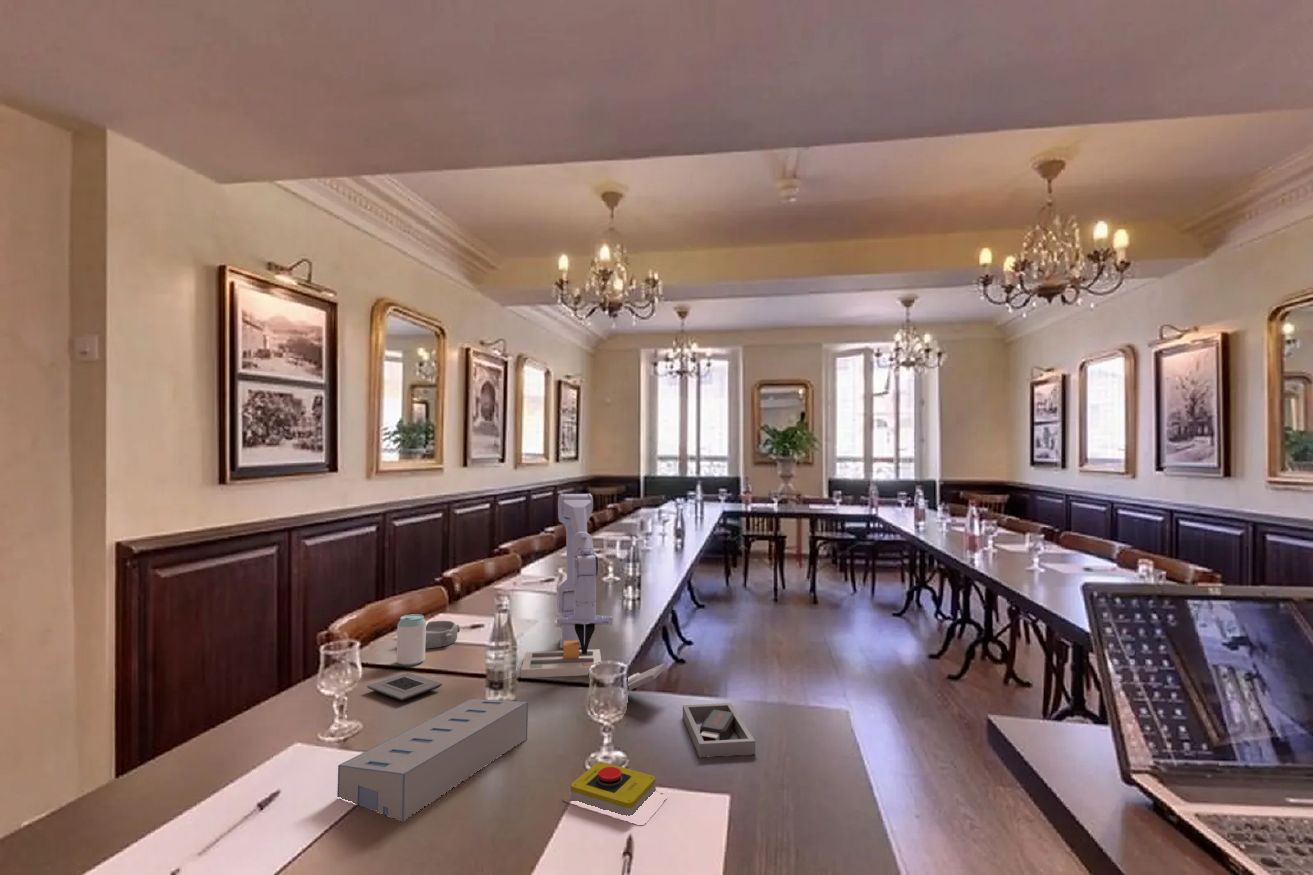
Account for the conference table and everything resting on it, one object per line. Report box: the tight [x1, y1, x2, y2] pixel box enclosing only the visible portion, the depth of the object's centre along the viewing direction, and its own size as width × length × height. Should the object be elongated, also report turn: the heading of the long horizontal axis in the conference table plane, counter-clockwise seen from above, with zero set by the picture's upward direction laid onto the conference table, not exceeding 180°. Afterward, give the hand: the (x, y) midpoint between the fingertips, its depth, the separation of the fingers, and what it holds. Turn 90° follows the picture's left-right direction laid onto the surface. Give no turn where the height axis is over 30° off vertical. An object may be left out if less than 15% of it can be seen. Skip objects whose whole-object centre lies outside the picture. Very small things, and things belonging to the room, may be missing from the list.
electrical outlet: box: [366, 671, 443, 702], centre depth 140 cm, size 13×10×2 cm
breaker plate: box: [520, 648, 602, 679], centre depth 158 cm, size 14×20×3 cm
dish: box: [425, 620, 461, 649], centre depth 178 cm, size 14×14×5 cm
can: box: [396, 613, 427, 667], centre depth 161 cm, size 7×7×12 cm
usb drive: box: [699, 710, 735, 741], centre depth 120 cm, size 5×12×3 cm, turn 159°
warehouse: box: [336, 698, 529, 824], centre depth 107 cm, size 30×14×8 cm, turn 155°
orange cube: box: [562, 640, 580, 659], centre depth 159 cm, size 4×4×4 cm
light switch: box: [627, 663, 667, 702], centre depth 137 cm, size 8×6×14 cm
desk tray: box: [682, 702, 756, 759], centre depth 120 cm, size 18×10×2 cm, turn 8°
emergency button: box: [569, 761, 657, 816], centre depth 97 cm, size 9×4×15 cm
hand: (584, 652), depth 159 cm, fingers closed
